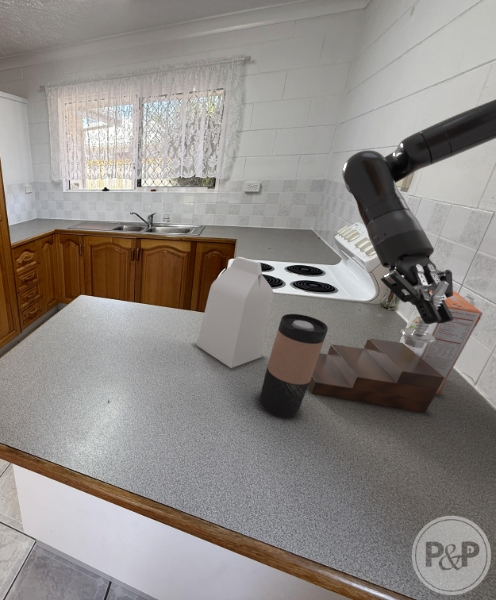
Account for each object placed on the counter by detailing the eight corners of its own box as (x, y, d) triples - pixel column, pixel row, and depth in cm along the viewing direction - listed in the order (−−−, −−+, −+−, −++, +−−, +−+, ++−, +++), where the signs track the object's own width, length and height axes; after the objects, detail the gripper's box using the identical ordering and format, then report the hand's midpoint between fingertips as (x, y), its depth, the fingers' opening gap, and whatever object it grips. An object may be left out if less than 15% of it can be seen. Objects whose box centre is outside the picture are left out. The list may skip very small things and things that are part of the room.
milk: (196, 345, 88) (211, 256, 78) (225, 336, 93) (243, 251, 83) (231, 368, 78) (253, 269, 68) (261, 357, 83) (286, 263, 73)
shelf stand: (311, 393, 70) (324, 359, 67) (293, 359, 83) (303, 329, 79) (425, 412, 65) (445, 377, 61) (387, 373, 77) (402, 342, 74)
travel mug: (298, 402, 67) (327, 319, 59) (298, 425, 61) (330, 336, 53) (259, 389, 71) (281, 310, 63) (256, 410, 65) (280, 325, 57)
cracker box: (389, 358, 84) (422, 285, 76) (419, 365, 81) (457, 290, 73) (403, 386, 73) (444, 305, 65) (439, 396, 70) (486, 312, 62)
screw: (437, 352, 57) (408, 350, 58) (416, 339, 62) (389, 337, 62) (473, 286, 52) (441, 284, 53) (447, 277, 56) (418, 275, 57)
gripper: (386, 228, 57) (430, 317, 51) (448, 227, 59) (498, 313, 53) (350, 249, 64) (386, 330, 58) (407, 248, 66) (447, 326, 60)
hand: (439, 322), depth 55 cm, fingers closed on screw, 2 cm apart
